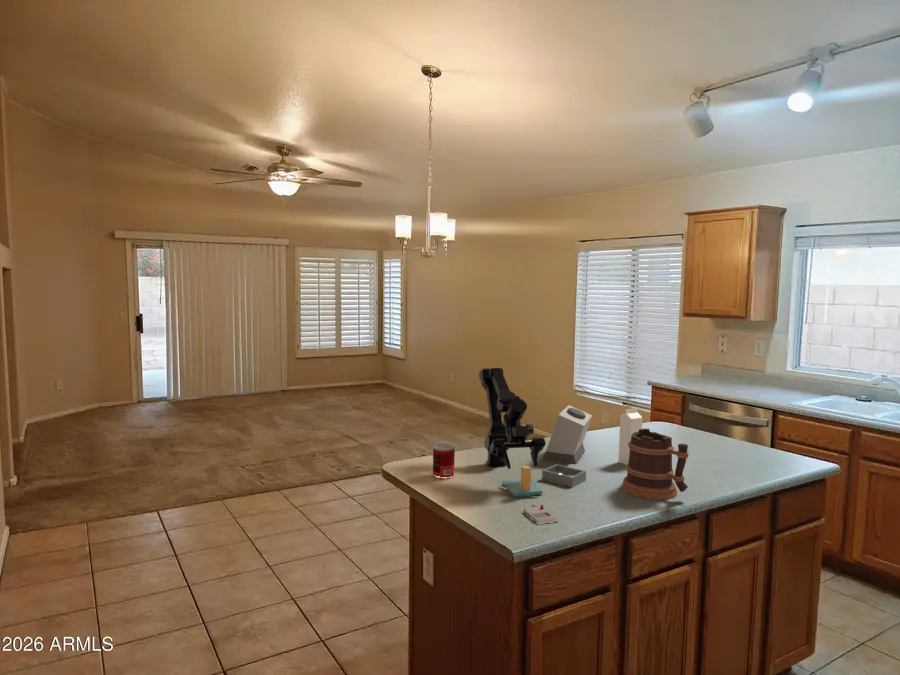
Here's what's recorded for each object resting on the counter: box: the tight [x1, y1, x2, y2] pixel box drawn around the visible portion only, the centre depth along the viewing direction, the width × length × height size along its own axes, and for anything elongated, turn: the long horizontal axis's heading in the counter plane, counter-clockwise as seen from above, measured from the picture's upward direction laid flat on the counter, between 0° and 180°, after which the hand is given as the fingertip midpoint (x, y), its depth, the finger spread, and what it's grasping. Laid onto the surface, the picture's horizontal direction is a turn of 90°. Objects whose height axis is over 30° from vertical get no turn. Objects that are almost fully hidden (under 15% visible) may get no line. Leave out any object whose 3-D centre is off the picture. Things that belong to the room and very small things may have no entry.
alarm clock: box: [542, 404, 593, 465], centre depth 236 cm, size 20×16×20 cm
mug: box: [621, 428, 690, 501], centre depth 196 cm, size 18×23×20 cm
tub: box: [541, 463, 587, 488], centre depth 205 cm, size 12×10×4 cm
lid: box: [502, 465, 543, 498], centre depth 194 cm, size 12×10×10 cm
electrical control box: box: [523, 503, 559, 523], centre depth 174 cm, size 7×16×3 cm, turn 19°
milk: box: [617, 407, 643, 466], centre depth 227 cm, size 6×6×22 cm
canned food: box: [432, 443, 456, 477], centre depth 209 cm, size 8×8×11 cm
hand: (522, 467), depth 193 cm, fingers open, 9 cm apart
